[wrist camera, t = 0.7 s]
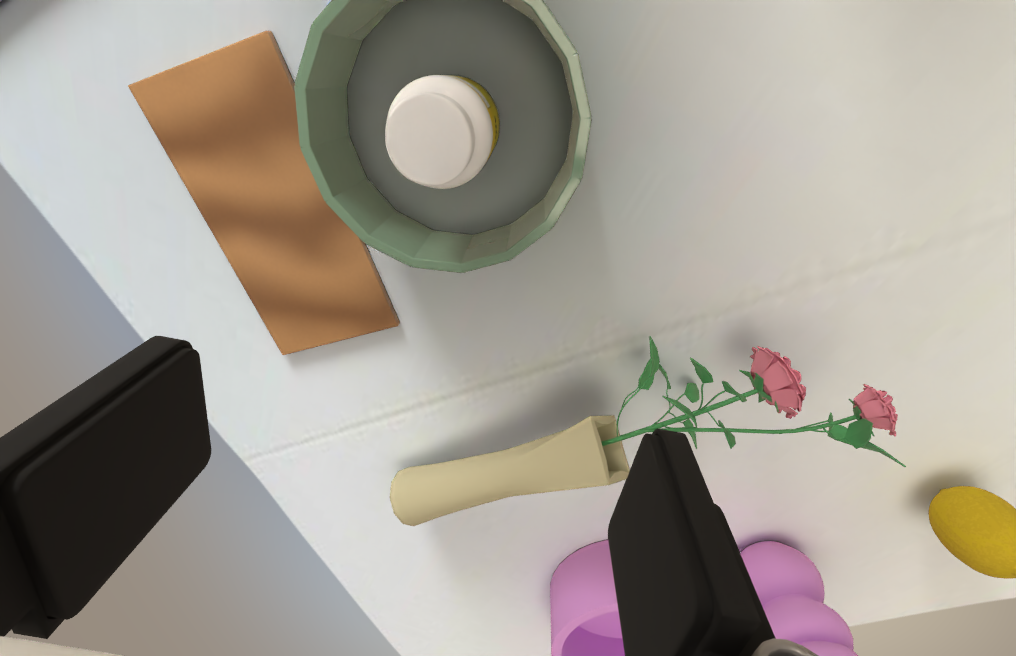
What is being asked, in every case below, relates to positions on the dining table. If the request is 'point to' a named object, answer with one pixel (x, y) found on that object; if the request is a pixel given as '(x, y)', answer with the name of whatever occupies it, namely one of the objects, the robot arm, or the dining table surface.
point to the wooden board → (264, 194)
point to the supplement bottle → (441, 130)
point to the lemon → (976, 529)
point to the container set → (771, 566)
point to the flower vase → (615, 444)
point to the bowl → (356, 198)
